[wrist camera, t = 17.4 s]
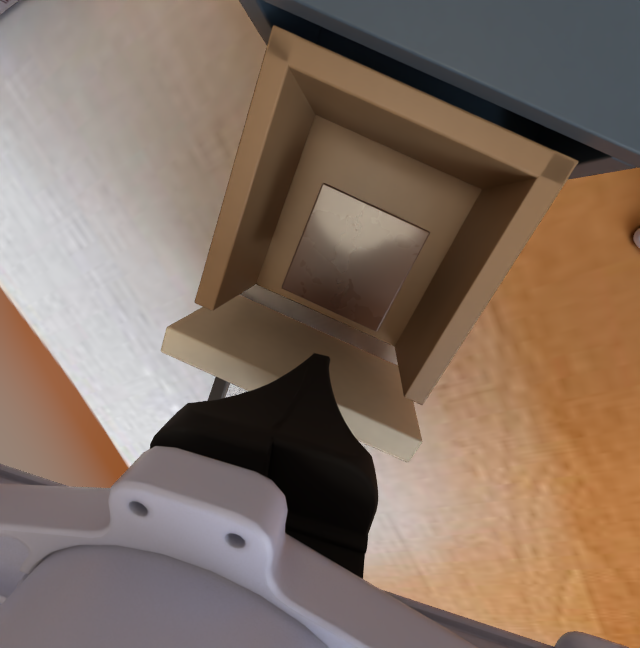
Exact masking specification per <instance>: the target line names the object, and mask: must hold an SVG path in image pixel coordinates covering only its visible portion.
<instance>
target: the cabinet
mask: <svg viewBox="0 0 640 648" xmlns="http://www.w3.org/2000/svg"><path fill="white" fill-rule="evenodd" d="M239 1H240V3H241V4H242V6H243V8H244V9H245V11H246V13H247V14H248V16H249V17H250V19H251V21H252V22H253V24H254V26H255V27H256V29H257V30H258V32H259V34H260V35H261V37H262V38H263V40H264V42H265V43H266V45H268V41H269V37H270V34H271V30H272V27H273V25H276V26H278V27H280V28H282V29H285V30H287V31H289V32H291V33H294V34H296V35H297V36H300V37H302V38H304V39H306V40H309V41H311V42H313V43H315V44H317V45H320V46H322V47H324V48H326V49H329V50H331V51H333V52H335V53H338V54H340V55H342V56H344V57H347V58H349V59H351V60H353V61H355V62H358V63H360V64H362V65H364V66H367V67H369V68H371V69H373V70H376V71H378V72H380V73H382V74H385V75H387V76H389V77H391V78H394V79H396V80H398V81H400V82H402V83H405V84H407V85H409V86H411V87H414V88H416V89H418V90H420V91H423V92H425V93H427V94H429V95H432V96H434V97H436V98H438V99H441V100H443V101H445V102H447V103H449V104H452V105H454V106H456V107H458V108H461V109H463V110H465V111H467V112H470V113H472V114H474V115H476V116H479V117H481V118H483V119H485V120H487V121H490V122H492V123H494V124H496V125H499V126H501V127H503V128H505V129H508V130H510V131H512V132H514V133H517V134H519V135H521V136H523V137H526V138H528V139H530V140H532V141H534V142H537V143H539V144H541V145H543V146H546V147H548V148H550V149H552V150H556V151H558V152H560V153H563V154H565V155H567V156H569V157H571V158H574V159H576V160H578V161H579V162H578V164H577V165H576V167H575V168H574V170H573V171H572V173H571V175H570V176H569V178H568V179H574V178H579V177H585V176H591V175H597V174H603V173H609V172H615V171H620V170H626V169H632V168H636V167H637V168H640V0H239ZM568 179H567V180H568Z"/></svg>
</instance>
